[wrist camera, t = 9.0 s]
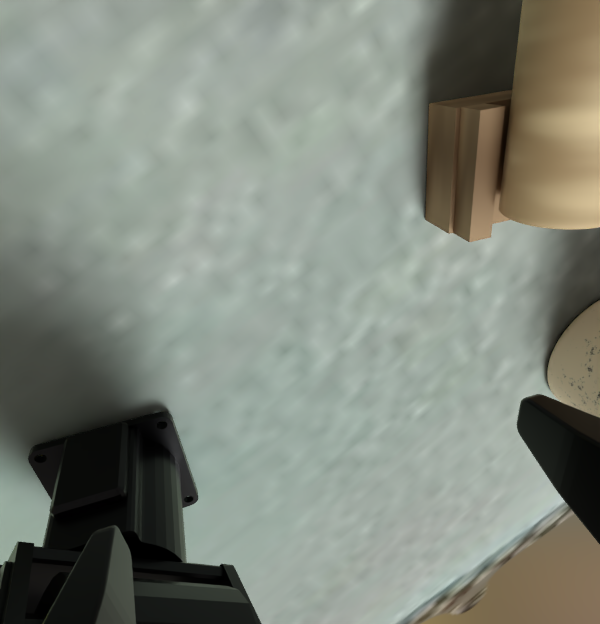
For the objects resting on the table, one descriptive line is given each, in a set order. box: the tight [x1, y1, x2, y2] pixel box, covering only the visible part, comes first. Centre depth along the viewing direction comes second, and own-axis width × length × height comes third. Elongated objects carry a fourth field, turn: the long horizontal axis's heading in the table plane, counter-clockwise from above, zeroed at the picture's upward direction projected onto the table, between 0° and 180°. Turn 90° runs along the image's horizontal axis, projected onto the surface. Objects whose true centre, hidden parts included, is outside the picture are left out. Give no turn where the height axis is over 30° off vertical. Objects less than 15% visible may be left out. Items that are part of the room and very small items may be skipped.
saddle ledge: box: [425, 90, 512, 242], centre depth 20 cm, size 5×8×3 cm, turn 97°
